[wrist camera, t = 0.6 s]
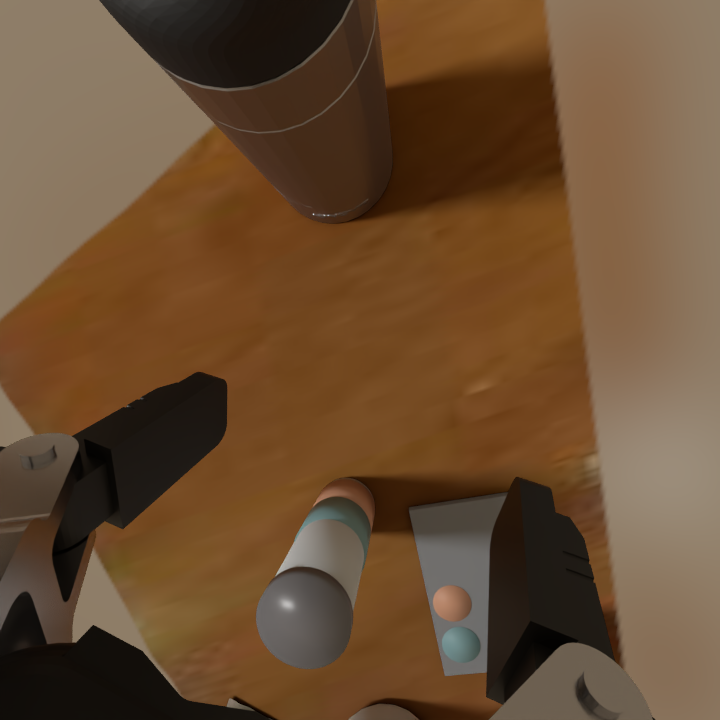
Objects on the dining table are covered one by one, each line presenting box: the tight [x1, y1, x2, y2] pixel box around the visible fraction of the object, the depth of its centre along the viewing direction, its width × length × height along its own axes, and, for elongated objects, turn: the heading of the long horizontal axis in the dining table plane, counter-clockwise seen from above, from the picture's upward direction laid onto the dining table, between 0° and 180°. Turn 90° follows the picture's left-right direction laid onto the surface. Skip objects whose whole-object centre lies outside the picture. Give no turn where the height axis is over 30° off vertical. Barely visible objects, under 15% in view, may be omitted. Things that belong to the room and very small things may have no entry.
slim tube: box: [256, 478, 375, 669], centre depth 26 cm, size 5×5×13 cm
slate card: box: [409, 492, 508, 676], centre depth 31 cm, size 14×10×1 cm
